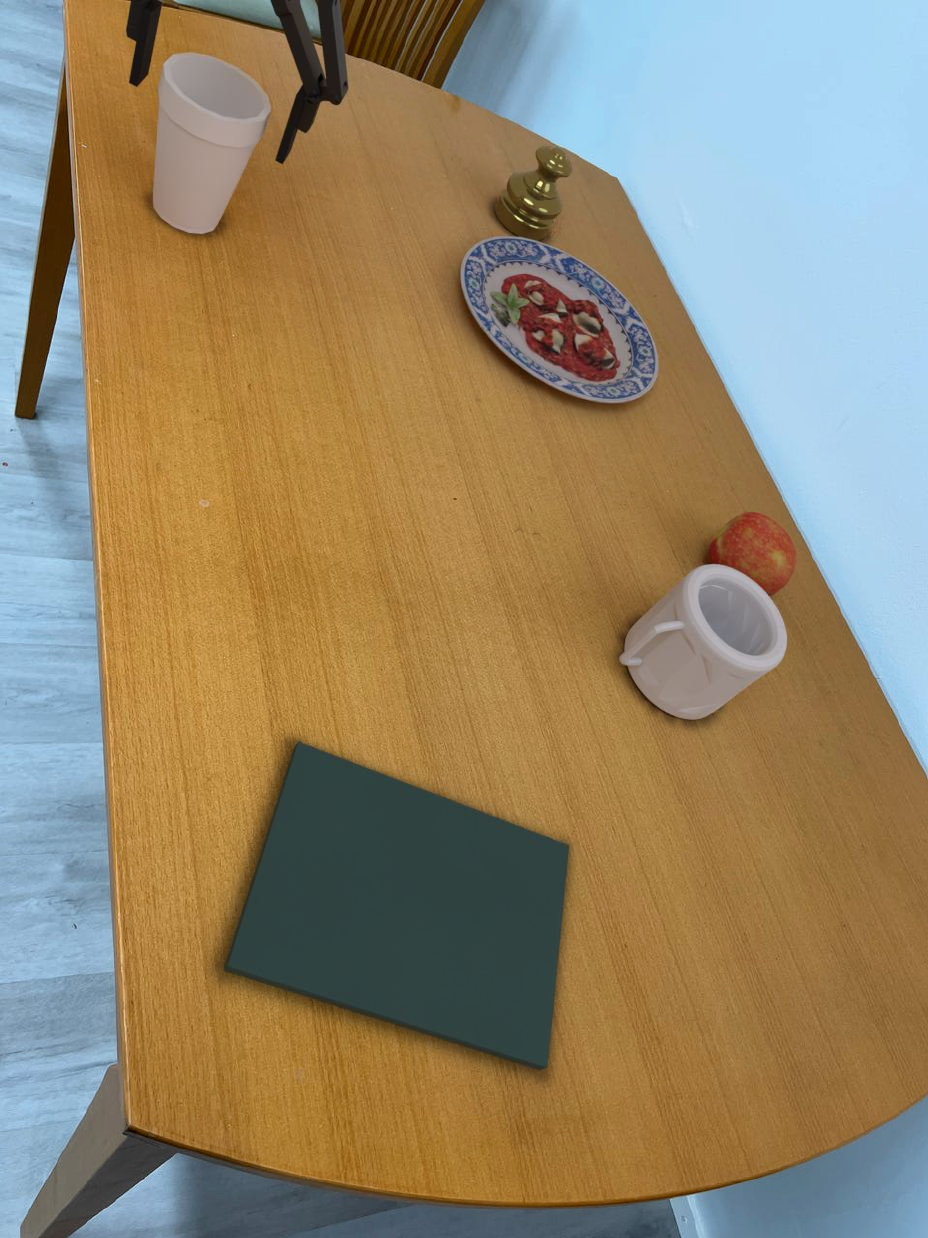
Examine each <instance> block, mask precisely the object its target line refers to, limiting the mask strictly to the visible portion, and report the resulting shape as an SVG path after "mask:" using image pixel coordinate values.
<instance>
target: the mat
mask: <svg viewBox="0 0 928 1238" xmlns="http://www.w3.org/2000/svg"><path fill="white" fill-rule="evenodd" d="M276 800H277V801H276V804H275V807H274V810H273V813H272V815H271V820H270V823H269V826H268V829H267V832H266V834H265V839H264V840H263V841H264V842H263V845H262V847H261V851H260V854H259V857H258V861H257V863H256V867H255V870H254V873H253V876H252V879H251V883H250V885H249V889H248V892H247V894H246V898H245V901H244V904H243V907H242V911H241V914H240V917H239V920H238V923H237V926H236V928H235V929H236V930H235V933H234V936H233V939H232V942H231V946H230V948H229V951H228V954H227V958H226V961H225V964H224V968H223V971H225V972H228V973H230V974H234V975H238V976H240V977H243V978H247V979H250V980H253V981H256V982H259V983H262V984H266V985H269V986H272V987H275V988H278V989H281V990H285V991H288V992H291V993H293V994H296V995H300V996H304V997H306V998H310V999H314V1000H316V1001H318V1002H319V1001H320V1002H323V1003H325V1004H329V1005H332V1006H335V1007H339V1008H341V1009H344V1010H348V1011H351V1012H354V1013H357V1014H360V1015H364V1016H367V1017H369V1018H374V1019H376V1020H379V1021H383V1022H386V1023H389V1024H392V1025H395V1026H398V1027H402V1028H405V1029H408V1030H412V1031H414V1032H417V1033H421V1034H424V1035H427V1036H431V1037H434V1038H436V1039H439V1040H443V1041H446V1042H449V1043H453V1044H455V1045H459V1046H462V1047H465V1048H469V1049H471V1050H474V1051H478V1052H481V1053H484V1054H488V1055H490V1056H494V1057H497V1058H500V1059H503V1060H507V1061H510V1062H513V1063H516V1064H520V1065H523V1066H525V1067H529V1068H532V1069H534V1070H538V1071H542V1070H544V1069H547V1068H548V1066H549V1065H548V1064H549V1055H550V1046H551V1045H550V1044H551V1034H552V1026H553V1025H552V1024H553V1015H554V1005H555V1003H554V1002H555V996H556V995H555V994H556V983H557V975H558V963H559V954H560V943H561V934H562V923H563V913H564V903H565V893H566V892H565V891H566V882H567V873H568V864H569V853H570V845H569V844H566V843H564V842H561V841H559V840H556V839H553V838H551V837H549V836H546V835H543V834H541V833H539V832H538V833H537V832H535V831H533V830H530V829H527V828H525V827H522V826H520V825H517V824H515V823H512V822H510V821H507V820H505V819H502V818H498V817H496V816H493V815H491V814H488V813H486V812H483V811H481V810H478V809H475V808H473V807H470V806H468V805H465V804H462V803H460V802H457V801H455V800H452V799H449V798H446V797H445V796H441V795H438V794H436V793H433V792H431V791H429V790H426V789H423V788H421V787H418V786H415V785H413V784H411V783H407V782H405V781H403V780H400V779H397V778H395V777H392V776H389V775H386V774H384V773H382V772H379V771H376V770H374V769H371V768H369V767H365V766H363V765H360V764H358V763H355V762H353V761H350V760H348V759H346V758H343V757H339V756H338V755H335V754H332V753H329V752H327V751H324V750H322V749H320V748H317V747H314V746H311V745H308V744H306V743H304V742H301V741H298V742H297V743H296V745H294V747H293V750H292V753H291V757H290V760H289V762H288V766H287V770H286V772H285V776H284V779H283V782H282V785H281V788H280V791H279V794H278V797H277V799H276Z"/></svg>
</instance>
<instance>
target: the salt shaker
mask: <svg viewBox="0 0 928 1238" xmlns="http://www.w3.org/2000/svg"><path fill="white" fill-rule="evenodd" d="M534 155H535V159H536V161H537V168H536V169H534V170H533V169H532V170H527V171H517V172H515V173H513V174H511V175H510V176H509V178H508V180H507V181H506V188H504V189H503V190H502V191H501V193H500V196H499V198H498V199H497V201H496V203H495V205H494V211H495V215H496V217H497V219H498V221H499V223H501V224H502V225H503V227H505V229H507V230H508V231H509V232H511V233H512V234H514V235H516V237H522V238H527V239H531V240H535V241H540V240H543V239H544V238H545V237H546V236H547V234H548V232H549V231H550V229H551V228H552V227H553V226H554V223H555V219H556V218H558V216H559V215H560V214H561V212H562V210H563V200H562V197H561V195H560V193H559V189H558V186H557V180H558V179H561V178H568V177H570V176H571V175H572V174H573V172H574V166H573V163H572V162H571V159H570V158H569V156H568V155H567V154H566V152H565V151H564V150H563V149H561V148H560V147H558V146H552V145H540V146H538V147H537V148H536V150H535V152H534Z"/></svg>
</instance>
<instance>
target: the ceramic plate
mask: <svg viewBox="0 0 928 1238" xmlns="http://www.w3.org/2000/svg"><path fill="white" fill-rule="evenodd" d="M459 277H460V279H459V280H460V286H461V291H462V293H463V298H464V300H465V302H466V304H467V308H468V309H469V311H470V313H471V315H472V316H473V318H474V320H475V321H476V323H477V324H478V326H479V327H480V328H481V330H482V331H483V333H485V334H486V336H487V337H488V338H489V339H490V340H491V341H492V343H493V344H494V345H495V346H496V347H497V348H498V349H499V350H500V351H501V352H502V353H503V354H504V355H505V356H507V357H508V358H509V359H510V360H511V361H512V362H513V363H514V364H516V365H518V366H519V367H520V368H522V369H523V370H524V371H526V372H527V373H528V374H530V375H531V376H532V377H534V378H536V379H538V380H540V381H541V382H543V383H545V384H546V385H548V386H550V387H551V388H553V389H556V390H558V391H561V392H563V393H565V394H567V395H570V396H573V397H575V398H579V399H582V400H587V401H589V402H596V403H603V404H623V403H628V402H631V401H634V400H637V399H639V398H641V397H642V396H644V395H645V394H647V393H648V392H649V391H650V390H651V389H652V388H653V386H654V384H655V382H656V381H657V377H658V373H659V363H660V362H659V354H658V350H657V346H656V343H655V340H654V338H653V336H652V334H651V332H650V329H649V327H648V325H647V324H646V323H645V321H644V319H643V318H642V316H641V315H640V313H639V311H638V310H637V309H636V308H635V306H634V305H633V304H632V303H631V302H630V301H629V300H628V298H627V297H626V296H625V295H624V293H622V292H621V291H620V290H619V289H618V288H617V287H616V286H615V285H614V284H613V283H612V282H611V281H609V280H608V279H607V278H606V277H604V275H602V274H601V273H600V272H598V271H597V270H596V269H594V268H592V267H591V266H589V265H588V264H587V263H585V262H584V261H582V260H580V259H579V258H577V257H575V256H573V255H571V254H569V253H568V252H565V251H564V250H562V249H560V248H559V247H556V246H553V245H550V244H547V243H544V242H541V241H539V240H531V239H527V238H522V237H519V236H513V235H512V236H511V235H510V236H508V235H503V236H501V235H499V236H497V235H496V236H492V237H488V238H485V239H482V240H480V241H478V242H476V243H475V244H474V245H472V246H471V247H470V248H469V249H468V251H467V252H466V253H465V255H464V257H463V260H462V262H461V266H460V272H459Z"/></svg>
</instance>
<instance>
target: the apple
mask: <svg viewBox="0 0 928 1238" xmlns="http://www.w3.org/2000/svg"><path fill="white" fill-rule="evenodd" d="M796 551H797V550H796V547H795V545H794V541H793V540H792V539H791V537H790V535H789V534H788V532H787V531H786V530H785V528H783V527H782V526H781V525H780V524H779V523H778V522H777V521H776V520H775V519H773V518H771V517H770V516H768V515H766V514H764V513H760V512H757V511H745V512H742V513H740V514H739V515H737V516H734V517H733V518H731V520H728V522H727V523H726V524H724V526H722V527H721V529H720V530H719V531H718V533H717V534H716V535H715V537H714V538H713V539H712V540H711V541H710V543H709V546H708V551H707V553H708V554H707V555H708V561H709V563H710V564H719V565H724V566H728V567H731V568H733V569H735V570H738V571H739V572H741V573H743V574H745V575H746V576H748V577H749V578H751V579H752V580H753V581H754V582H756V583H757V584H758V585H759V586H760V587H761V588H762V589H763V590H764V591H765V592H766V593H767V595H768V596H769V597H772V596H774V595H776V594H777V593H778V592H779V591H781V590H782V589H783V588H785V586H786V585H787V584H788V583H789V582H790V580H791V579H792V577H793V575H794V572H795V570H796V565H797V552H796Z"/></svg>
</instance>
